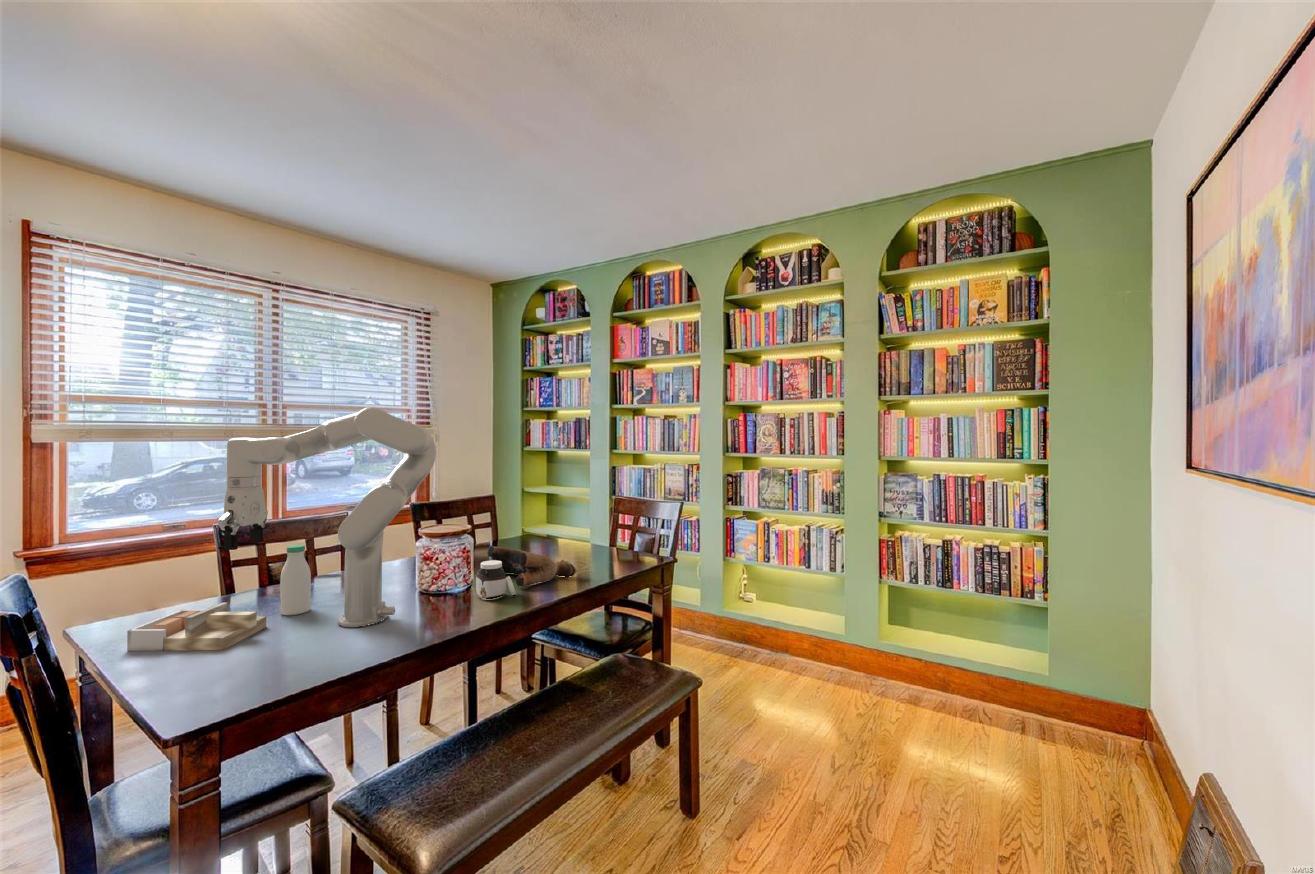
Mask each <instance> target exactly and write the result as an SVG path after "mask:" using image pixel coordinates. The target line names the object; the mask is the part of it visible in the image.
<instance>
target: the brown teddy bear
mask: <svg viewBox="0 0 1315 874" xmlns="http://www.w3.org/2000/svg"><path fill="white" fill-rule="evenodd" d="M487 557H489V558H493V559H495V560H497V561H501V562H502V568H503V570H504V571H505V573H514V574H517V575H518V576H517V577H516V578H515V584H516V585H518V586H517V587H519V586H522V587H525V585H530V584H534V583H538V582H544V581H547V580H550V579H551V580H552V579H553V578H554V577H555V576H556V575H558V576H565V577H569V576H572V577H574V575H575V574H576V573H577V572H578V570H577V568H576V567H575V566H574V565H573V564H572V563H570V562H569V561H567V560H566V561H565V560H564V559H561V561H556V562H554V560H553V559H552V558H551V557H550V556H549V555H547V554H538V553H534V552H530V551H525V550H521V549H516V548H510V547H504V546H493V545H489V547H488V550H487ZM558 576H557V577H558ZM569 578H570V577H569ZM551 580H550V581H551Z"/></svg>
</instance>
